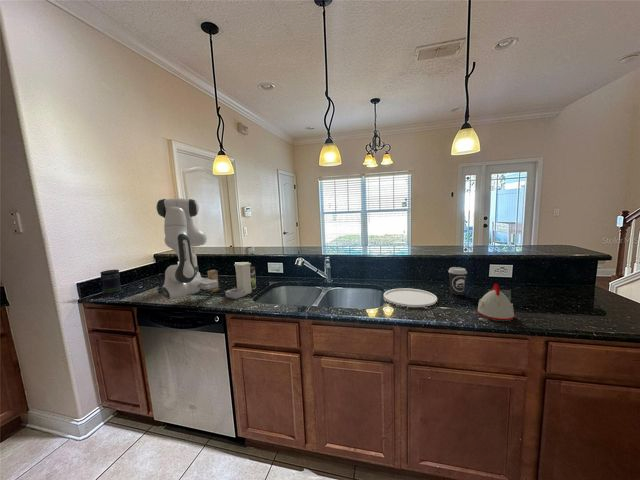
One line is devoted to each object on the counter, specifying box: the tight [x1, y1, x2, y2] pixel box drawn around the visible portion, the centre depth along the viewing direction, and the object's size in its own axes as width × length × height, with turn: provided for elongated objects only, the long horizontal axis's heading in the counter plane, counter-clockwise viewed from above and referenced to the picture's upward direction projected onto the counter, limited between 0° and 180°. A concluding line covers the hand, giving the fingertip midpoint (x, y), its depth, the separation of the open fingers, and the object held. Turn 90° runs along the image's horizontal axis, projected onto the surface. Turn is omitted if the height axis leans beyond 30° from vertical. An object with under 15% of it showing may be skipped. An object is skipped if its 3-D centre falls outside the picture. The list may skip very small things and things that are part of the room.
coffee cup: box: [448, 266, 468, 295], centre depth 151 cm, size 10×10×15 cm
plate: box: [383, 287, 438, 307], centre depth 146 cm, size 28×28×2 cm
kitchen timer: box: [477, 283, 515, 320], centre depth 120 cm, size 14×14×15 cm
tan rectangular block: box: [206, 269, 220, 292], centre depth 162 cm, size 4×4×12 cm
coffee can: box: [250, 265, 257, 291], centre depth 176 cm, size 10×10×14 cm
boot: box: [225, 261, 252, 300], centre depth 162 cm, size 9×14×19 cm, turn 147°
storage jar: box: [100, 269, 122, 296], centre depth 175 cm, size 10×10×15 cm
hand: (214, 279), depth 163 cm, fingers closed on tan rectangular block, 4 cm apart
